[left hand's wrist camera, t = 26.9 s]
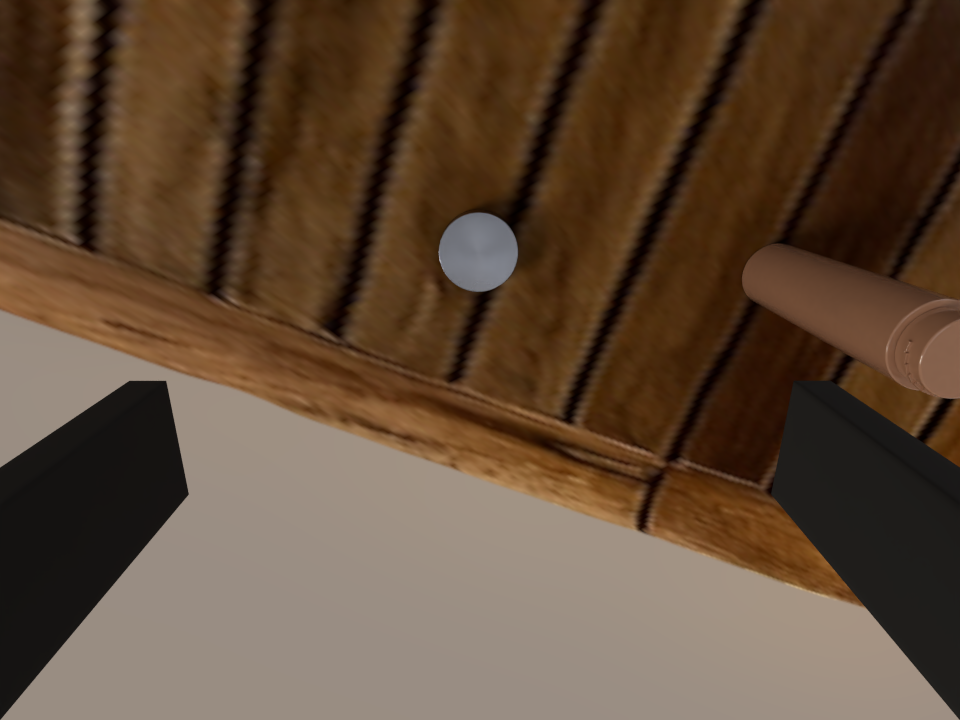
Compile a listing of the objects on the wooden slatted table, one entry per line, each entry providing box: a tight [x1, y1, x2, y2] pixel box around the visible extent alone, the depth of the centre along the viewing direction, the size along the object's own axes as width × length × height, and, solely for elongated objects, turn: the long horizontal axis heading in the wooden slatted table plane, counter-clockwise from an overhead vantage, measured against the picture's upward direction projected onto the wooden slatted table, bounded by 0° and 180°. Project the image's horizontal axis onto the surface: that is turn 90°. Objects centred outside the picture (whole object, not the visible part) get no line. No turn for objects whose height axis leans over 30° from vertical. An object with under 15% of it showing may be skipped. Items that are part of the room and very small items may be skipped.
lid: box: [439, 209, 518, 292], centre depth 37 cm, size 5×5×2 cm
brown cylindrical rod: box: [742, 243, 960, 398], centre depth 31 cm, size 4×4×16 cm
